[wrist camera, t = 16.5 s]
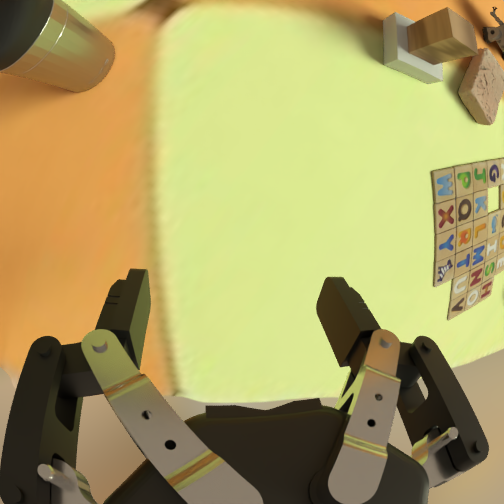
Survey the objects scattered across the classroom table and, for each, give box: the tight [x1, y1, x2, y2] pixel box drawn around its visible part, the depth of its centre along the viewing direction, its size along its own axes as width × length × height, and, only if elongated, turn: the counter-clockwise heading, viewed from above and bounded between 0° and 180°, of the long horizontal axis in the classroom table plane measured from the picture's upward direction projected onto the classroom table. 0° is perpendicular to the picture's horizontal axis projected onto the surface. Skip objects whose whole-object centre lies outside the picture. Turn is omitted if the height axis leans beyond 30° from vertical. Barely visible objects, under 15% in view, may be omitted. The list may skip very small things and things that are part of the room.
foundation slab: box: [383, 12, 443, 84], centre depth 28 cm, size 9×9×4 cm
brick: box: [458, 48, 504, 125], centre depth 29 cm, size 17×8×5 cm, turn 146°
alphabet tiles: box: [432, 158, 504, 320], centre depth 43 cm, size 33×28×1 cm
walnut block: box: [407, 7, 478, 65], centre depth 21 cm, size 5×5×10 cm
